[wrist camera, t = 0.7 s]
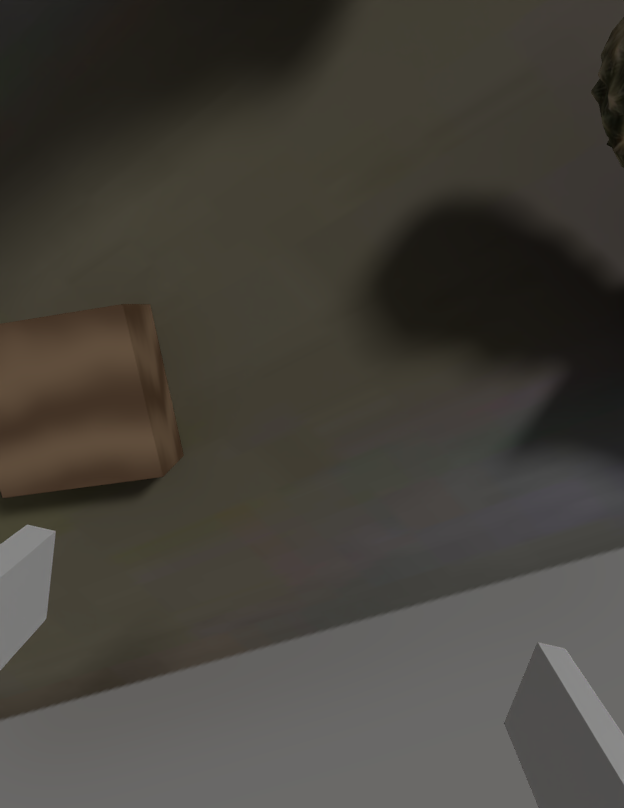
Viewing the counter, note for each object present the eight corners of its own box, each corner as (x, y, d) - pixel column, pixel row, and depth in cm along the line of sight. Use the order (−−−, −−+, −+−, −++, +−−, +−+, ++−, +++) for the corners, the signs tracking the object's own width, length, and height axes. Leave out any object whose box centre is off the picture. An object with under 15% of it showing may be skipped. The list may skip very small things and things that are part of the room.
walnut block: (-1, 328, 37) (-50, 331, 32) (150, 304, 36) (122, 304, 31) (42, 474, 40) (2, 498, 35) (183, 455, 39) (162, 476, 34)
